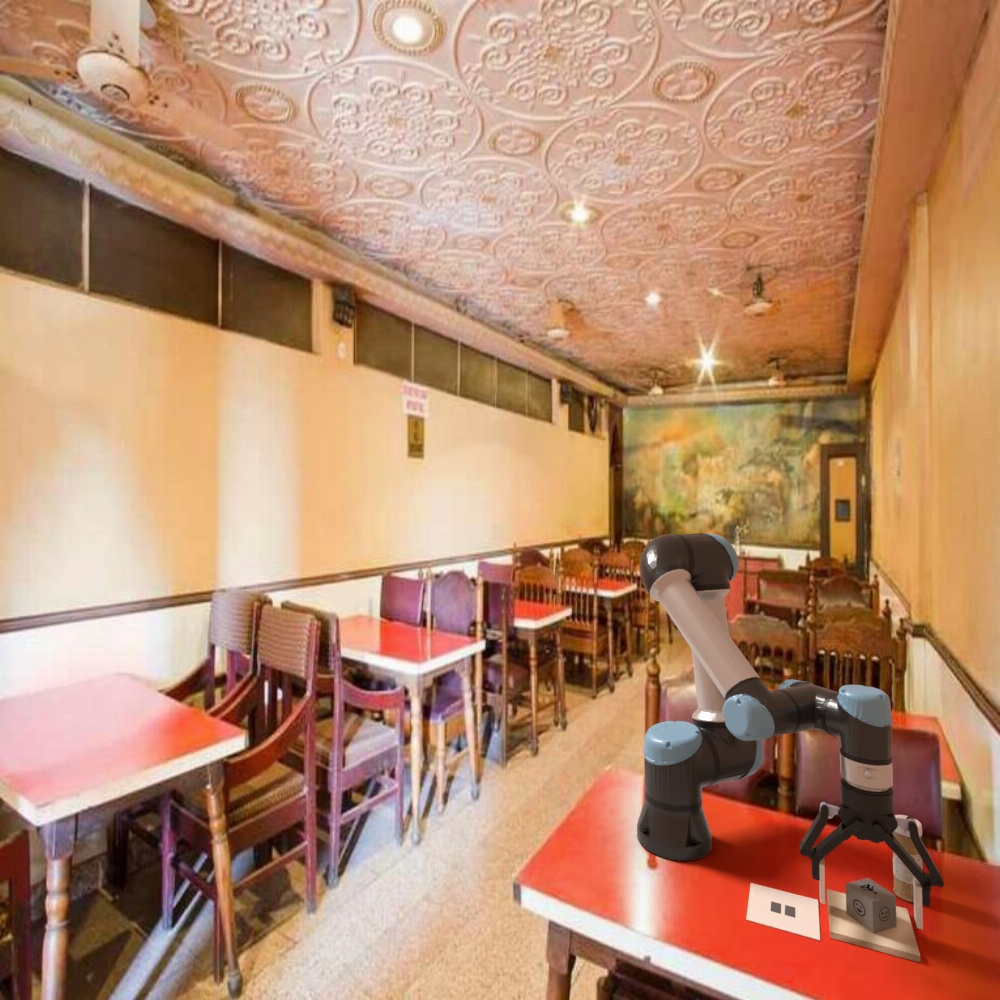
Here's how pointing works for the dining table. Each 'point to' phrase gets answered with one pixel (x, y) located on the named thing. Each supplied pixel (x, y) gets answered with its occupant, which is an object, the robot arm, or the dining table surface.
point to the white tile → (784, 911)
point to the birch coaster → (851, 931)
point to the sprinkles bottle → (900, 871)
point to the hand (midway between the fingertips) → (868, 911)
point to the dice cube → (871, 905)
